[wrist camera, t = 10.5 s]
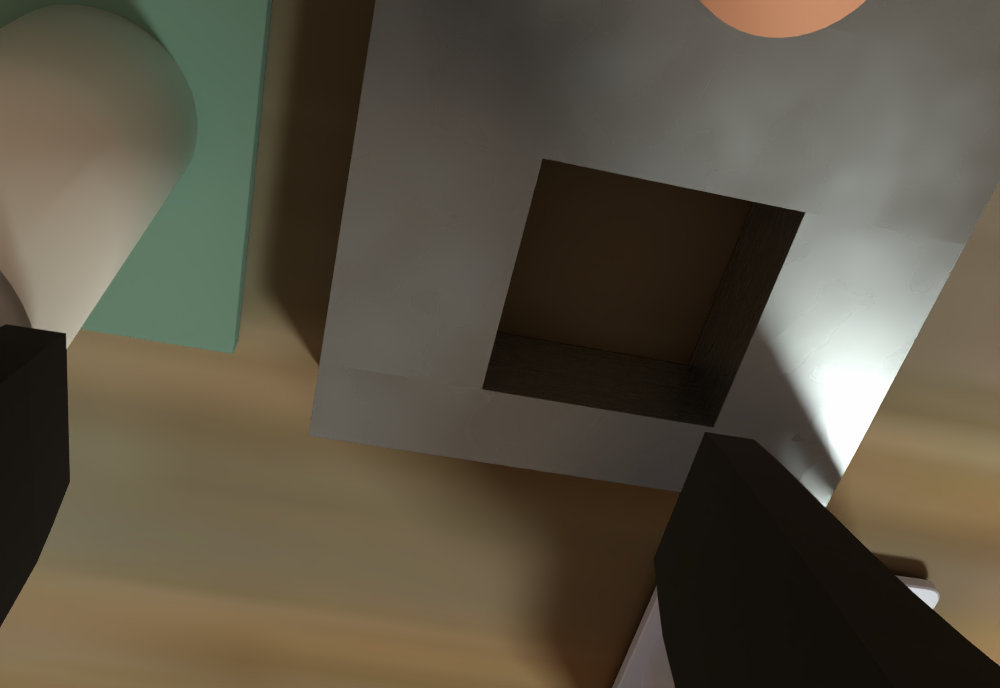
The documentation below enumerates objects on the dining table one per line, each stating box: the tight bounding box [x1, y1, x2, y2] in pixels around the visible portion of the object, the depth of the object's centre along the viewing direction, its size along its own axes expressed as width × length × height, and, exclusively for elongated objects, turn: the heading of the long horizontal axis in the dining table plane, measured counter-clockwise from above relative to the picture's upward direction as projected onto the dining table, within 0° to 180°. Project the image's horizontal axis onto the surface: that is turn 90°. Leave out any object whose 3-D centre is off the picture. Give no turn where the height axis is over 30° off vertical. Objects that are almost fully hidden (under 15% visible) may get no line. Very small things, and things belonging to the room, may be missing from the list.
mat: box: [0, 0, 272, 354], centre depth 18 cm, size 10×6×1 cm, turn 167°
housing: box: [308, 0, 1000, 507], centre depth 18 cm, size 15×12×2 cm
